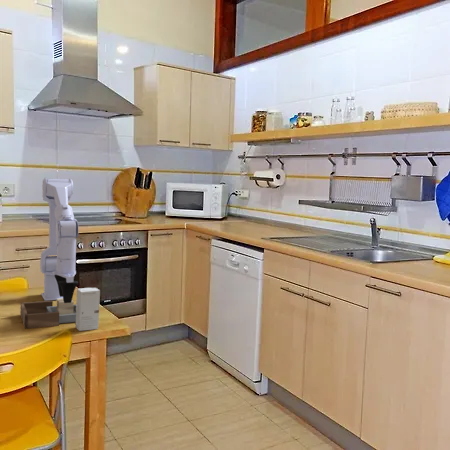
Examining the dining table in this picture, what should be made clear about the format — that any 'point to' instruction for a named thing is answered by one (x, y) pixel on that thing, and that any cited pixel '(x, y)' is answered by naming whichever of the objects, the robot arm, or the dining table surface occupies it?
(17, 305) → the dining table surface
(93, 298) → the skincare box
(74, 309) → the tray
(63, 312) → the birch block
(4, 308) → the dining table surface
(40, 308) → the dock
